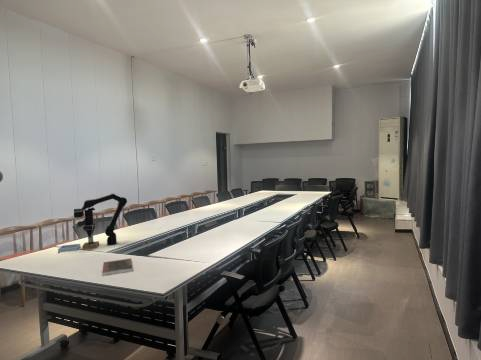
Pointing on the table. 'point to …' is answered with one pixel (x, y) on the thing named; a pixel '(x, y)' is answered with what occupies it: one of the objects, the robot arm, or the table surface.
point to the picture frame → (117, 267)
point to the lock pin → (90, 239)
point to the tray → (69, 248)
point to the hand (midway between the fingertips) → (90, 236)
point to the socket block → (91, 245)
